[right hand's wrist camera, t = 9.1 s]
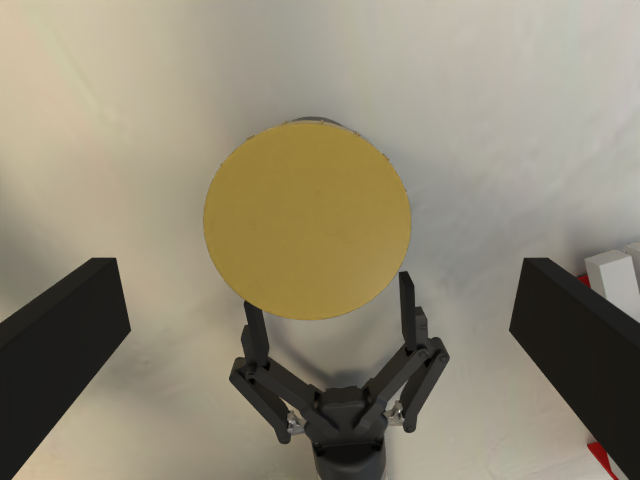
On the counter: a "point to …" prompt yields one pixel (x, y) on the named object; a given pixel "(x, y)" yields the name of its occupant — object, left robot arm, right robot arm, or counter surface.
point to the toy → (625, 293)
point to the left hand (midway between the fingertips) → (327, 286)
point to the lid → (307, 220)
